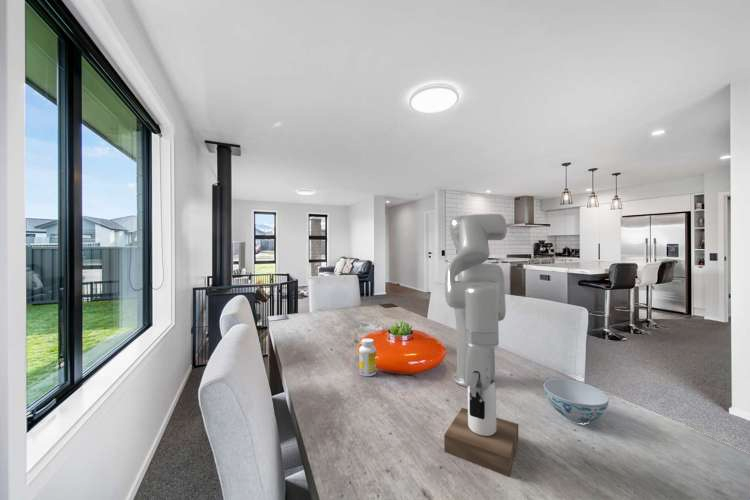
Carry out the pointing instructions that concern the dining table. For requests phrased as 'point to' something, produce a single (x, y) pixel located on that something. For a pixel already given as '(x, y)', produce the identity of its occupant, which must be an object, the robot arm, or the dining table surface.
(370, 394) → the dining table surface
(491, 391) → the can
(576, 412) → the chinaware
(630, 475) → the dining table surface
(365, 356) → the supplement bottle
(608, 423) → the dining table surface
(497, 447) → the base
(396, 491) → the dining table surface
